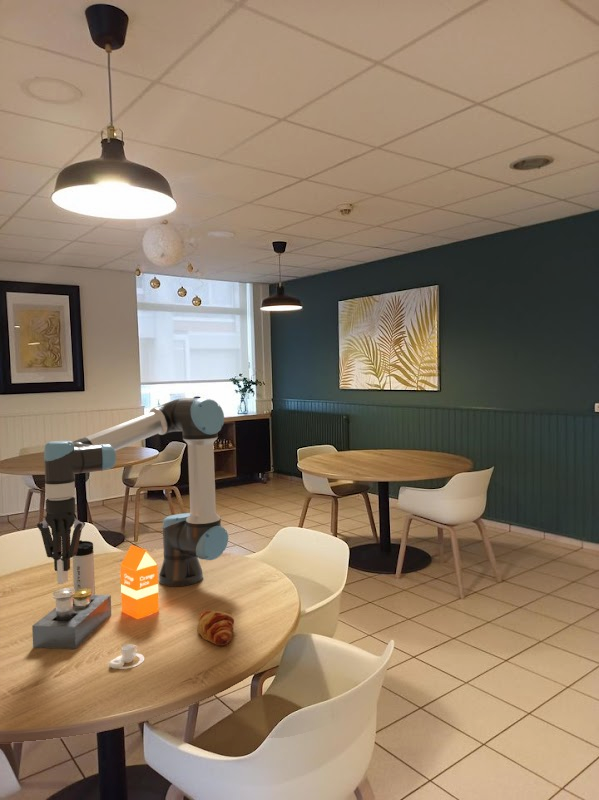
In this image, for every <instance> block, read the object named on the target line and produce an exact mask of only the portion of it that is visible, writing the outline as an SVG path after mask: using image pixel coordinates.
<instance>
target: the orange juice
mask: <svg viewBox="0 0 599 800" xmlns="http://www.w3.org/2000/svg"><path fill="white" fill-rule="evenodd" d="M158 575H159V574H158V564H157V562H156V561H155V560H154V558H153V557H152V556H151V554H150V553H149V552H148V551H147V549H144V548H141V547H138V546H136V545H132V544H131V545H130V547H129V549H128V551H127V553H126V554H125V556H124V558H123V560H122V561H121V564H120V593H121V612H122V613H124V614H126V615H128V616H130V617H132V618H134V619H136V620H139V619H141V618H145V617H147V616H151V615H152V614H155V613H158V612H159V610H160V607H159V606H160V605H159V577H158Z"/></svg>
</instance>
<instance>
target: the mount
mask: <svg viewBox="0 0 599 800" xmlns="http://www.w3.org/2000/svg"><path fill="white" fill-rule="evenodd" d="M111 597H112V596H111V595H110V594H95V595H91V596H90V604H89V605H88V606H74V598H73V616H74V618H72V619H71V620H70V621H56V607H55V608H53V609H52V610H51V611H50V612H48V613H46V615H44V616H43V617H41V619H39V620H38V621H37V622H35V623H34V624H33V625H32V626H31V630H32V648H33V649H34V648H35V649H36V648H37V649H59V650H60V649H62V650H64V649H66V650H76V649H78V647H80V645H82V644H83V642H85V641H86V640H87V639H88V638H89V637H90V636H91V635H92V634H93V633H94V632H95V631H96V630H97V629H98V628H100V626H102V624H103V623H104V622H105V621H106V620H108V618H109V617H111V616H112V598H111Z"/></svg>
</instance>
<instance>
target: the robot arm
mask: <svg viewBox="0 0 599 800" xmlns="http://www.w3.org/2000/svg"><path fill="white" fill-rule="evenodd" d="M224 424H225V414H224V410H223V409H222V407H221V405H220V404H219V403H218V402H217V401H215V400H213V399H210V398H205V397H191V398H190V397H180V398H177V399H173V400H170V401H168V402H165V403H163V404H161V405H158V406H156V407H152V408H151V409H150V410H149V412H147V413H146V414H142V415H139V416H137V417H134V418H133V419H130V420H127V421H124V422H122V423H119V424H117V425H114V426H111V427H109V428H106V429H103V430H100V431H98V432H95V433H93V434H89V435H87V436H85V437H82V438H79V439H76V440H74V441H72V440H55V441H54V440H52V441H48V442H46V444H45V445H44V451H43V455H44V456H43V461H44V480H45V481H44V482H45V484H44V486H45V487H44V488H45V489H44V492H45V494H44V495H45V498H46V499H45V512H46V515H45V518H44V520H43V521H40V522H38V523H37V524H36V526H37V528H38V530H39V531H40V534H41V537H42V542H43V546H44V549H45V554H46V557H48V558H51V559H53V562H54V563H53V565H54V566H53V567H54V571H55V572H56V573H57V575H56V576H57V579H56V580H57V585H63V584H65V583H66V582H68V580H69V579H68V577H69V575H68V573H69V572H68V571H70V569H71V559H73V556H75V555H76V554H77V550H78V546H79V541H80V540H81V535H82V531H83V529H84V527H85V526H86V522H84V521H80V520H79V519H77V518H78V517H77V514H76V497H75V494H76V490H75V489H76V487H75V483H76V482H75V481H76V480H75V478H76V477H75V475H79V474H85V473H93V472H99V471H100V472H103V471H107V470H111V469H113V468H114V467H115V464H116V462H117V461H116V460H117V454H116V451H119V450H121V449H123V448H126V447H129V446H131V445H133V444H135V443H136V444H137V442H141V441H143V440H145V439H148V438H150V437H154V436H155V435H160V436H163V435H166V434H168V433H173V432H182V440H183V441H184V442H185V443H186V444H187V460H188V461H187V465H188V483H189V484H188V486H189V512H187V513H177V514H173V515H168V516H165V518H163V520H162V540H163V542H162V543H163V561H162V564H161V568H160V571H159V574H158V575H159V577H158V582H159V583H160V584H161V585H163V586H167V587H184V586H189V585H194V584H196V583H198V582H200V581H201V580H202V579H203V578H204V576H203V574H204V573H203V569H202V566H201V563H200V561H199V559H200V560H206V561H213V560H216V559H218V558H219V557H221V556H222V554H223V553H224V551H225V550H226V549H227V547H228V544H229V534H228V531H227V529H225V527H223V526H222V519H221V515H219V514H218V513H217V510H216V508H217V505H216V504H217V503H216V482H215V481H216V480H215V476H216V475H215V454H214V453H215V451H214V444H215V441H217V439H218V438H219V434H218V433H219V432H220V431H221V430H222V427H223V426H224ZM72 527H73V528H74V530H73V532H72ZM71 533H72V536H71Z"/></svg>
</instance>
